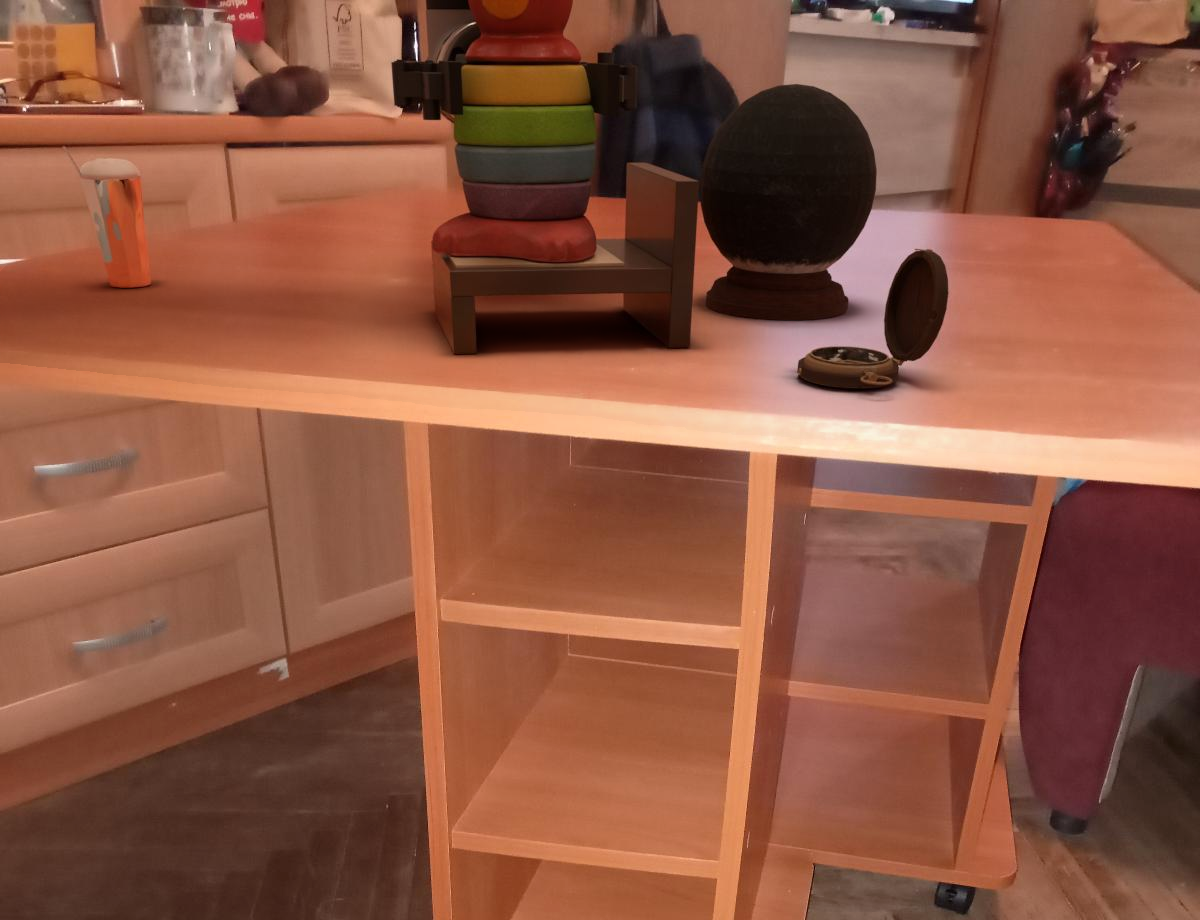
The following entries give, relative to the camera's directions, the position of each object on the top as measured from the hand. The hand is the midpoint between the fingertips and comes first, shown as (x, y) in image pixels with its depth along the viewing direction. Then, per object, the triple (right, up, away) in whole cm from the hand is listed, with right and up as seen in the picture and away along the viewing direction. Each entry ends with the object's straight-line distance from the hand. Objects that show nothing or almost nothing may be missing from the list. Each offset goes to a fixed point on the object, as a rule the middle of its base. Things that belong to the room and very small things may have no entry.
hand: (535, 89), depth 70 cm
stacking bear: (-1, -6, +9) cm, 11 cm away
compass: (+20, -18, 0) cm, 27 cm away
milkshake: (-35, -1, +24) cm, 43 cm away
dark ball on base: (+18, -4, +21) cm, 28 cm away
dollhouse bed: (+1, -10, +12) cm, 16 cm away
